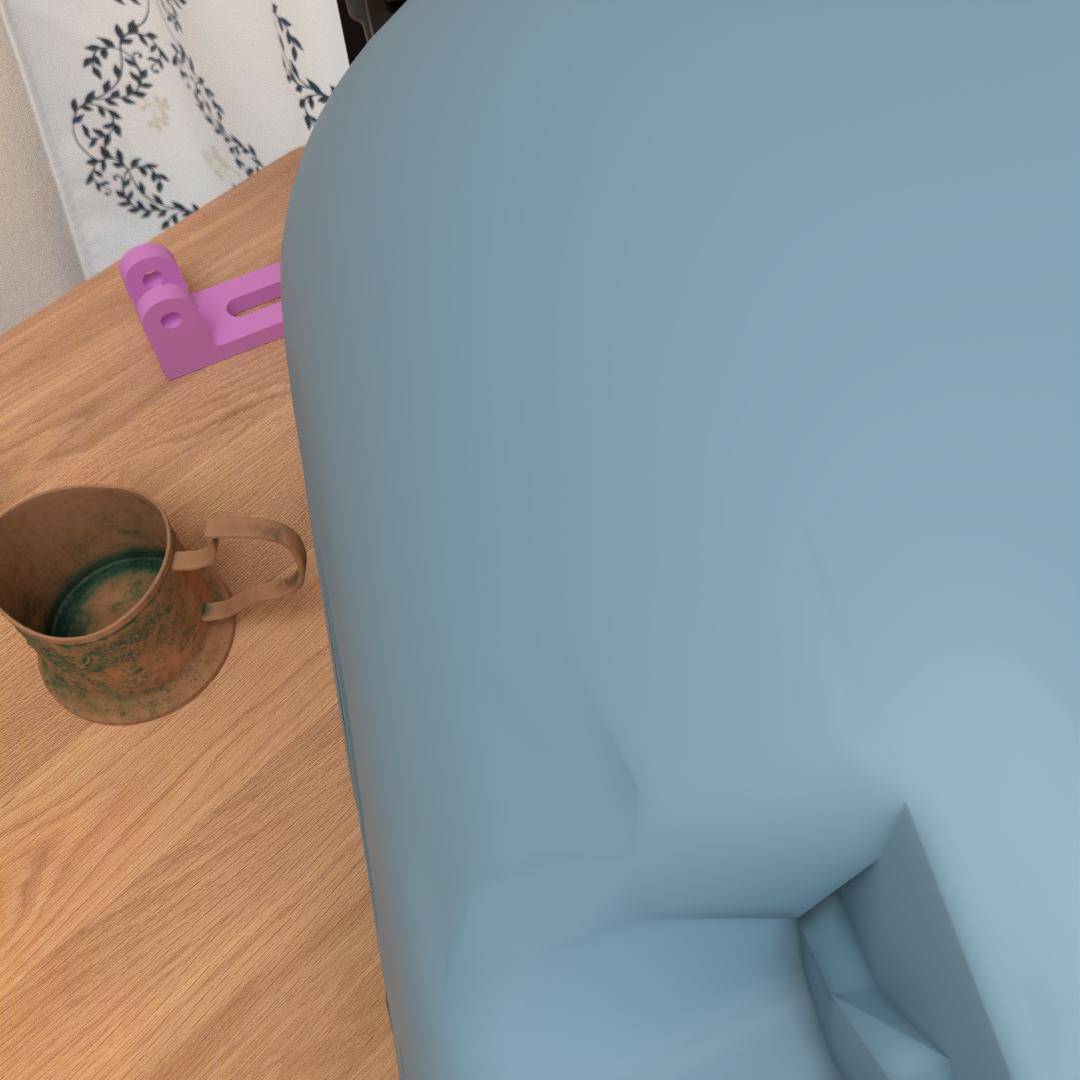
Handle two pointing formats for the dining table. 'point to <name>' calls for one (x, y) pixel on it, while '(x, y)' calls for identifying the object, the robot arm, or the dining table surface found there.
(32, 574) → the mug
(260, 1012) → the dining table surface
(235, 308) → the bracket
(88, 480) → the dining table surface
